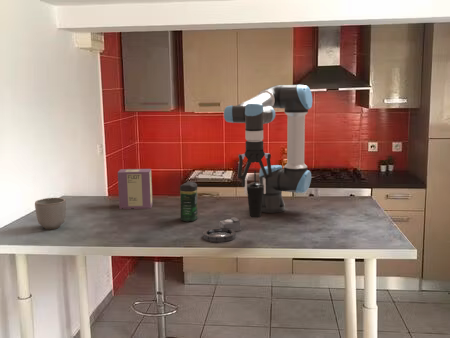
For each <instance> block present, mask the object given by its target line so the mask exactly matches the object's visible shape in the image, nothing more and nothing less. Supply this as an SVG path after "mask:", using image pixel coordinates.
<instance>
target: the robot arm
mask: <svg viewBox="0 0 450 338" xmlns="http://www.w3.org/2000/svg"><path fill="white" fill-rule="evenodd" d="M312 106H313V94H312V91H311V89H310V87H309V86H308V85H304V84H277V85H273V86H270V87H267V88H264V89H262V90H261V91H259V92H258V93H257V95H255V96H253V97H251V98H248V99H247V100H244V101H242V102H241V103H239V104H236V105H227V106H225V108H224V111H223V119H224V121H225V122H227V123H232V124H234V123H235V124H245V125H244V127H245V128H244V129H245V140H246V141H245V152H244V153H242V154H241V153H239V154H238V159H239V160H238V168H237V176H236V177H237V178H238V179H241V186H242V187H243V188H244V192H243V194H244V195H247V196H248V194H247V184H248V179H247V175H248V172H249V169H250V166H251V165H252V163H258V165H259V167H260V168H259V176H258V183H261V184H263V185H264V187H263V198H262V209H261V213H267V214H268V213H269V214H270V213H271V214H275V213H281V212H284V211H285V210H286V204H285V201H284V198H283V195H282V192H285V193H286V192H287V193H288V192H289V193H296V194H304V193H307V191H308V189H310V185H311V182H312V172H311V171H310V170H308V165H306V164H305V147H306V146H305V144H306V143H305V141H306V139H305V136H306V135H305V134H306V133H305V132H306V129H305V127H306V125H305V124H306V115H307V114H308V113H309V110H310V109H311V108H312ZM275 109H284V115H286V117H287V127H286V128H287V139H286V140H287V145H286V146H287V147H286V148H287V150H286V152H287V155H286V157H287V160H286V161H287V162H286V164H285V165H283V166H282V165H281V164H280V165H279V164H273V165H272V163H271V157H272V156H271V155H272V154H271V153H270V152H269V153H267V152H265V151H264V141H263V140H264V124H265V125H266V124H270V123H272V122H273V121H274V119H275V118H276V111H275ZM264 157H265V161H266V166H264V163H263V161H262V160H263V158H264ZM245 158H246V159H247V161H246V163H245V167H244V168H243V163H244V162H243V161H244V160H245ZM242 170H243V171H242Z"/></svg>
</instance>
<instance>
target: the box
mask: <svg viewBox="0 0 450 338" xmlns="http://www.w3.org/2000/svg"><path fill="white" fill-rule="evenodd" d="M152 180H153V179H152V168H125V169H123V168H121V169H120V168H119V170H118V171H117V187H118V189H117V190H118V204H119V206H118V207H119V210H132V209H131V208H134V209H133V210H136V209H137V210H138V209H139V210H141V209H152V206H153V183H152ZM122 208H123V209H122Z"/></svg>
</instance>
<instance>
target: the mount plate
mask: <svg viewBox="0 0 450 338" xmlns="http://www.w3.org/2000/svg"><path fill="white" fill-rule="evenodd" d="M236 232H237V231H234V230H232V229H229V228H219V227H211V228H207V229H205V230H203V232H202V237H203V240H205V241H207V242H210V241H211V242H210V243H227V242H230V241H233V240H235V239H236V236H237V233H236Z"/></svg>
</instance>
